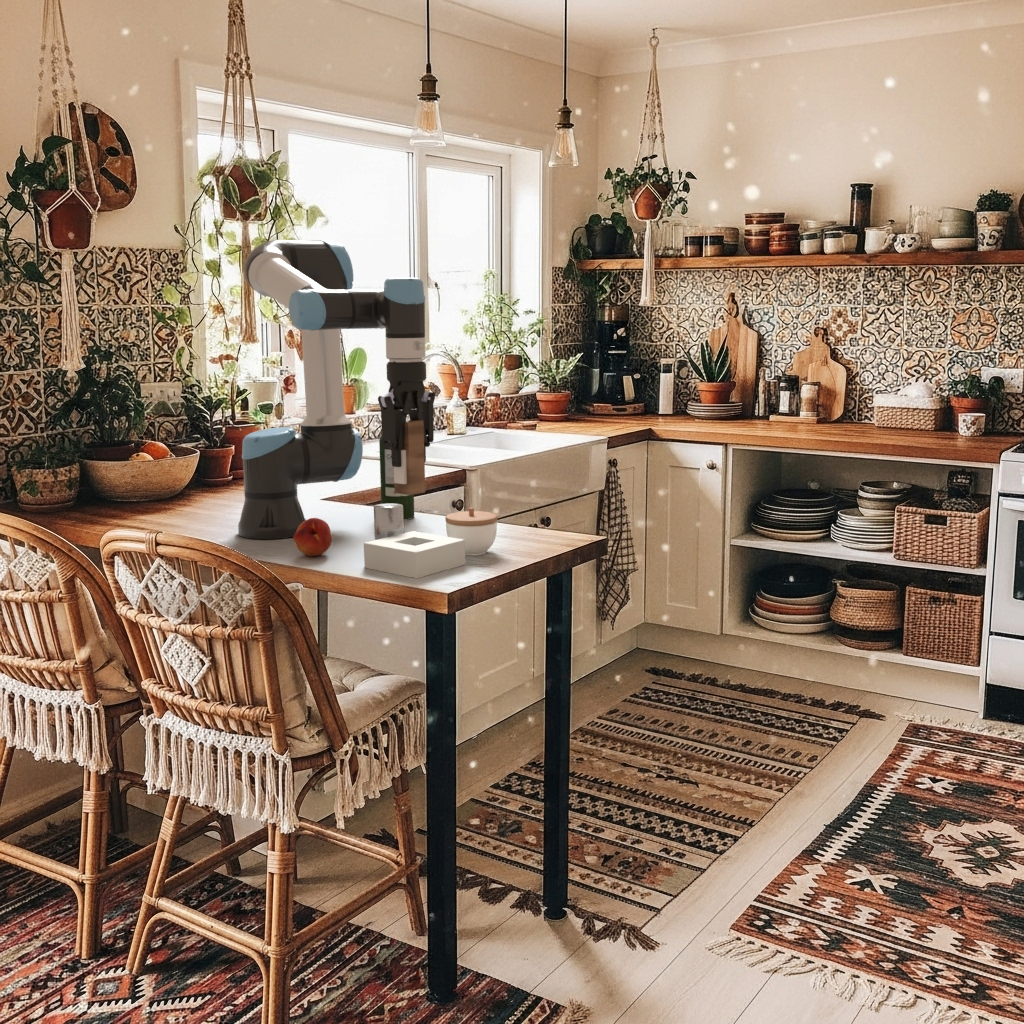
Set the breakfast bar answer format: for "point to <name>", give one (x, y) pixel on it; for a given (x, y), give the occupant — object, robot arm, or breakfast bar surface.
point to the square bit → (413, 458)
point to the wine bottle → (392, 484)
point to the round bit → (388, 520)
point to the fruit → (313, 537)
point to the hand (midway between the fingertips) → (409, 481)
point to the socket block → (414, 554)
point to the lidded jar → (473, 530)
